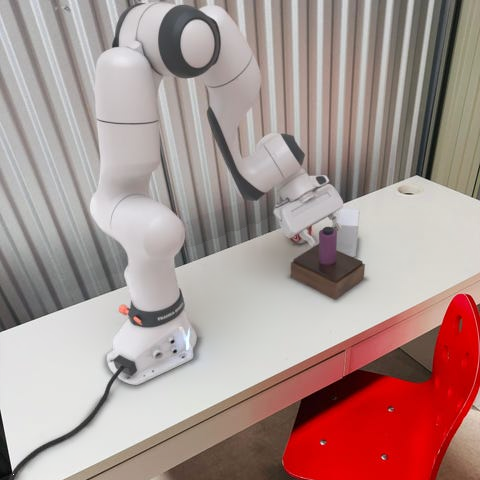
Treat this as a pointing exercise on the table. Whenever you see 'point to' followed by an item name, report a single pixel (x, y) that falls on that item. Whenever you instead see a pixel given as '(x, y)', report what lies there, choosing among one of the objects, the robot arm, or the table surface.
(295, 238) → the soda can
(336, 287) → the flat rectangular box
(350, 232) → the cosmetics box
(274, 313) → the table surface
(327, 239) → the lotion bottle
